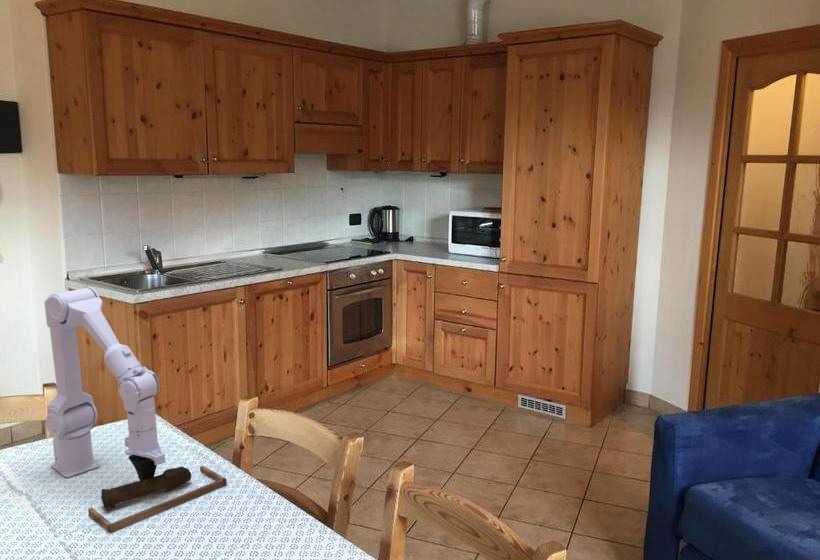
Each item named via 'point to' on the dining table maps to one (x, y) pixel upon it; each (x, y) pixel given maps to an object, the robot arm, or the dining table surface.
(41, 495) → the dining table surface
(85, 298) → the robot arm
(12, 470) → the dining table surface
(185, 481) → the hand tool
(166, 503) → the tool bay
